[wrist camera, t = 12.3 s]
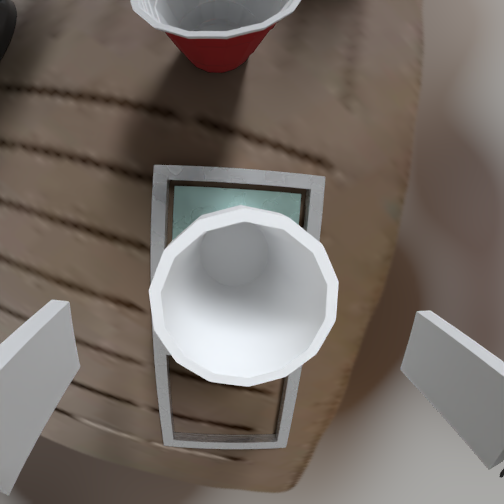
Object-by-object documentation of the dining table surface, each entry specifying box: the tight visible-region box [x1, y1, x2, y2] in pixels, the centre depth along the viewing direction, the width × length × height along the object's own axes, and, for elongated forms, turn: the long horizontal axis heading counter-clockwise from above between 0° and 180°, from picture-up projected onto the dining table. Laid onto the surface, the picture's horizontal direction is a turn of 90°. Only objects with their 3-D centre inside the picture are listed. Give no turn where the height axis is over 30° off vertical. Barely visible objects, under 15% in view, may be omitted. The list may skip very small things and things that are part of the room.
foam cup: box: [149, 205, 338, 387], centre depth 21 cm, size 10×9×13 cm
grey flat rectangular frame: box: [151, 165, 325, 449], centre depth 29 cm, size 14×30×1 cm, turn 176°
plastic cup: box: [131, 0, 301, 73], centre depth 18 cm, size 11×11×12 cm
